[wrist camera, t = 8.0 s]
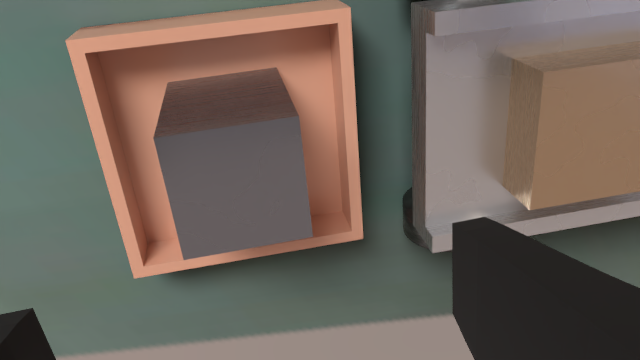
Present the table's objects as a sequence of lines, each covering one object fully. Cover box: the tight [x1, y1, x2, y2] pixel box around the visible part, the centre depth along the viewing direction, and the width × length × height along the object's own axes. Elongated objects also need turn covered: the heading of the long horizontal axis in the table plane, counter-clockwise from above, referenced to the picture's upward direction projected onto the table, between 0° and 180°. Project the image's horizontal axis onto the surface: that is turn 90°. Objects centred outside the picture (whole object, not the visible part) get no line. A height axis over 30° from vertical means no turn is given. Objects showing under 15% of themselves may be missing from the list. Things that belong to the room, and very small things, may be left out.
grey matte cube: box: [153, 67, 313, 260], centre depth 16 cm, size 4×4×5 cm
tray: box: [65, 0, 363, 278], centre depth 18 cm, size 8×8×2 cm
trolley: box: [403, 0, 640, 253], centre depth 17 cm, size 12×10×6 cm
